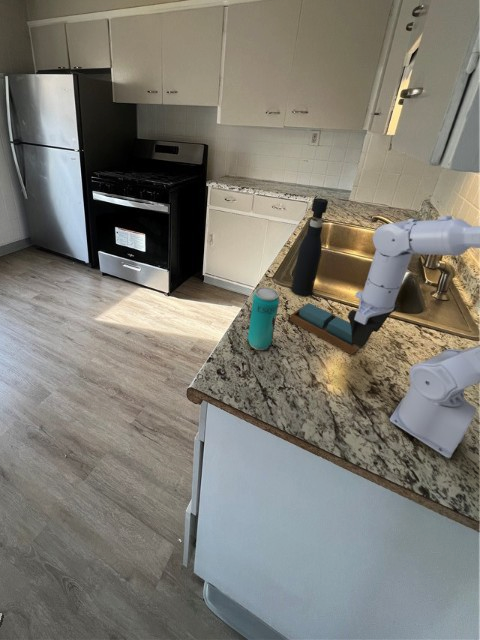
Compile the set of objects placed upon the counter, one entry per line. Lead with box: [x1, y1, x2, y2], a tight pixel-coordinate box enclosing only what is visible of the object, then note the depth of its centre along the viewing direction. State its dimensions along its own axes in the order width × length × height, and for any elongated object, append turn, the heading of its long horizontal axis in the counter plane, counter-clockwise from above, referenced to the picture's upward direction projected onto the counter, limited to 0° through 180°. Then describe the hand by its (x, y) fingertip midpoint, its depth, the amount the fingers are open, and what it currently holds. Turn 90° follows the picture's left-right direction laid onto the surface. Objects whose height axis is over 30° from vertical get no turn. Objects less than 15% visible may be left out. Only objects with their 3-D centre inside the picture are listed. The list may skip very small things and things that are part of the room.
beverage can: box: [247, 286, 280, 351], centre depth 74 cm, size 6×6×15 cm
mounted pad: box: [299, 302, 333, 329], centre depth 85 cm, size 7×4×3 cm, turn 41°
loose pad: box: [326, 316, 353, 345], centre depth 80 cm, size 6×4×3 cm
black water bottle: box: [291, 197, 329, 297], centre depth 94 cm, size 6×6×30 cm
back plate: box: [289, 304, 360, 356], centre depth 83 cm, size 17×9×2 cm, turn 41°
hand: (365, 336), depth 67 cm, fingers open, 7 cm apart
